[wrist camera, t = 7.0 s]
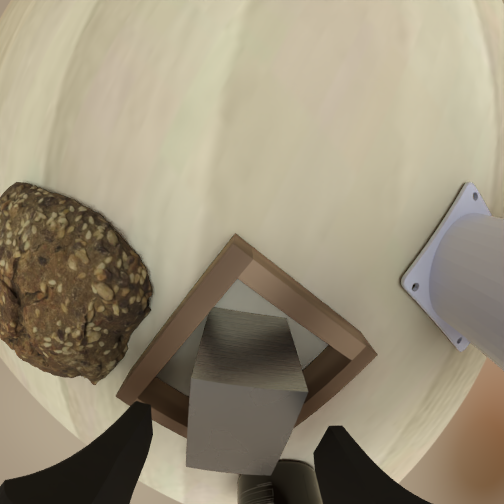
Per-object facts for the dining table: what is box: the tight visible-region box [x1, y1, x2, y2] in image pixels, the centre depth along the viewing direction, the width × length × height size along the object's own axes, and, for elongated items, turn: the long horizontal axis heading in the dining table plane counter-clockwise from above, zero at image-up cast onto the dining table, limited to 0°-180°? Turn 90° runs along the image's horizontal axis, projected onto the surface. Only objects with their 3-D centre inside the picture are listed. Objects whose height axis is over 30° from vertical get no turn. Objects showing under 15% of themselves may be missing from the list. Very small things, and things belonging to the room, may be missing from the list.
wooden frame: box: [116, 233, 377, 438], centre depth 14 cm, size 9×11×2 cm
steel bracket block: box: [186, 307, 308, 476], centre depth 12 cm, size 6×4×6 cm, turn 170°
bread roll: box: [0, 182, 152, 385], centre depth 12 cm, size 13×12×5 cm
